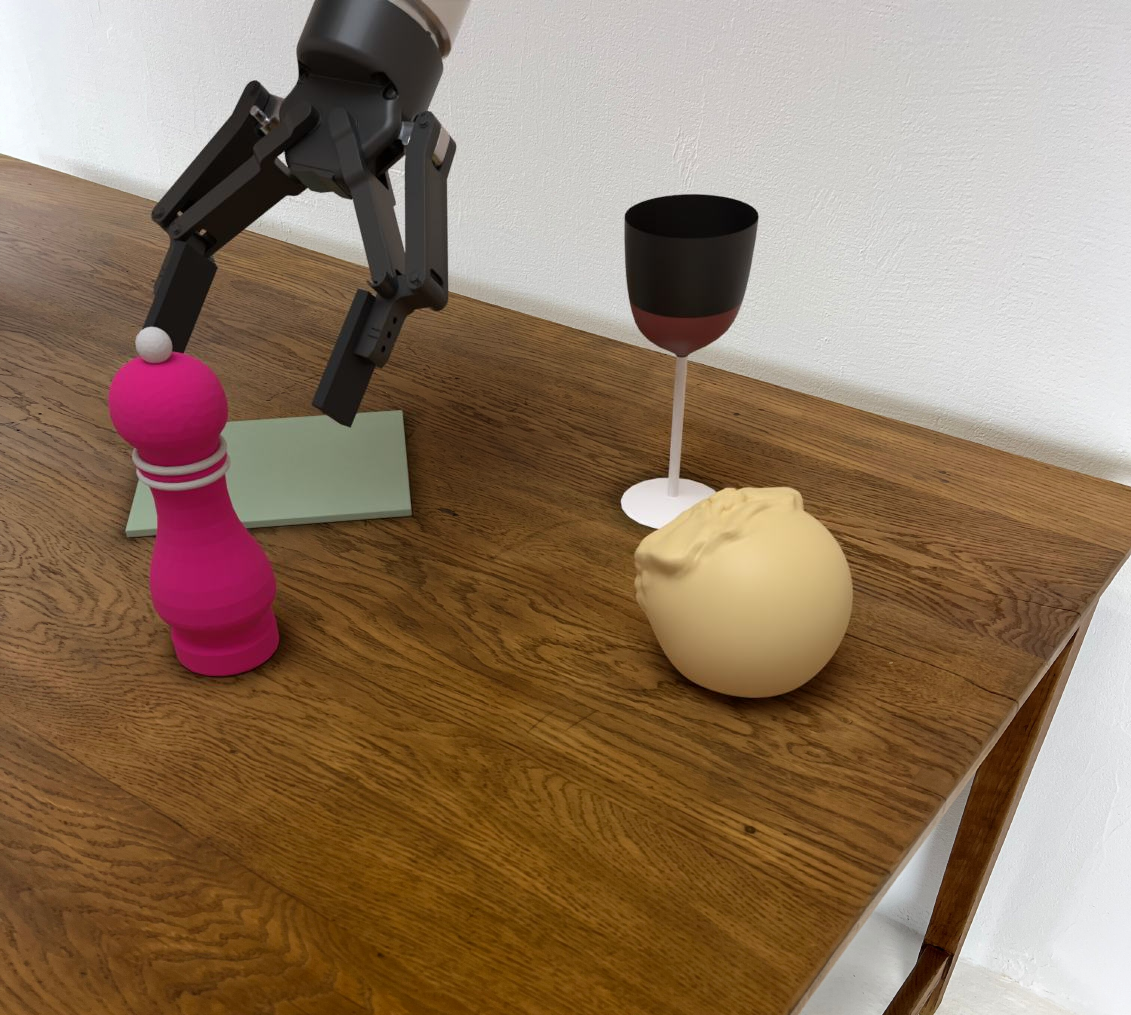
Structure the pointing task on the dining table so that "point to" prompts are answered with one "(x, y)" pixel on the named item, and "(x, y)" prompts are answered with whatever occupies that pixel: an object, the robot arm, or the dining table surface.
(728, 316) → the wineglass
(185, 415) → the pepper mill
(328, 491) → the placemat
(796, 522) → the sculpture
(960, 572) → the dining table surface
